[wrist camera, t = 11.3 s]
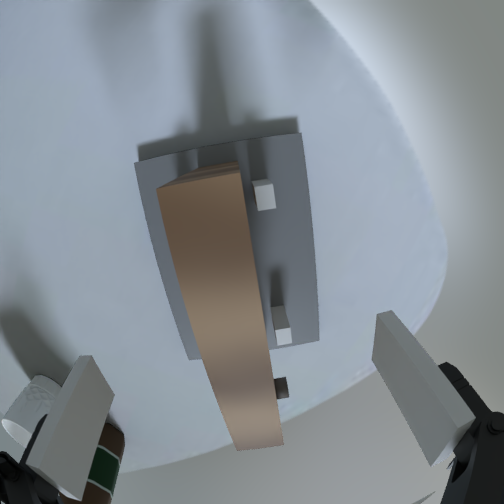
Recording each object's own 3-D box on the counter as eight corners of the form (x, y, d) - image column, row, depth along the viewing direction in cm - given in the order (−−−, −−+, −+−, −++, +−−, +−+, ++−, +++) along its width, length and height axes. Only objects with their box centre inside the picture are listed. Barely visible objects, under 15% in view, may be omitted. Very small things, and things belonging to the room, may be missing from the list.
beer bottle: (134, 435, 34) (106, 573, 11) (118, 450, 35) (91, 567, 13) (88, 410, 32) (41, 546, 9) (77, 427, 33) (37, 544, 11)
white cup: (67, 380, 29) (38, 434, 20) (79, 415, 32) (58, 464, 23) (24, 364, 29) (-8, 410, 19) (38, 399, 31) (15, 443, 22)
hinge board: (138, 162, 22) (117, 165, 17) (298, 133, 22) (313, 130, 17) (190, 352, 28) (184, 384, 24) (316, 333, 28) (328, 363, 24)
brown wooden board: (198, 167, 21) (155, 189, 10) (248, 159, 21) (263, 169, 10) (234, 342, 26) (237, 450, 15) (274, 336, 26) (296, 442, 15)
